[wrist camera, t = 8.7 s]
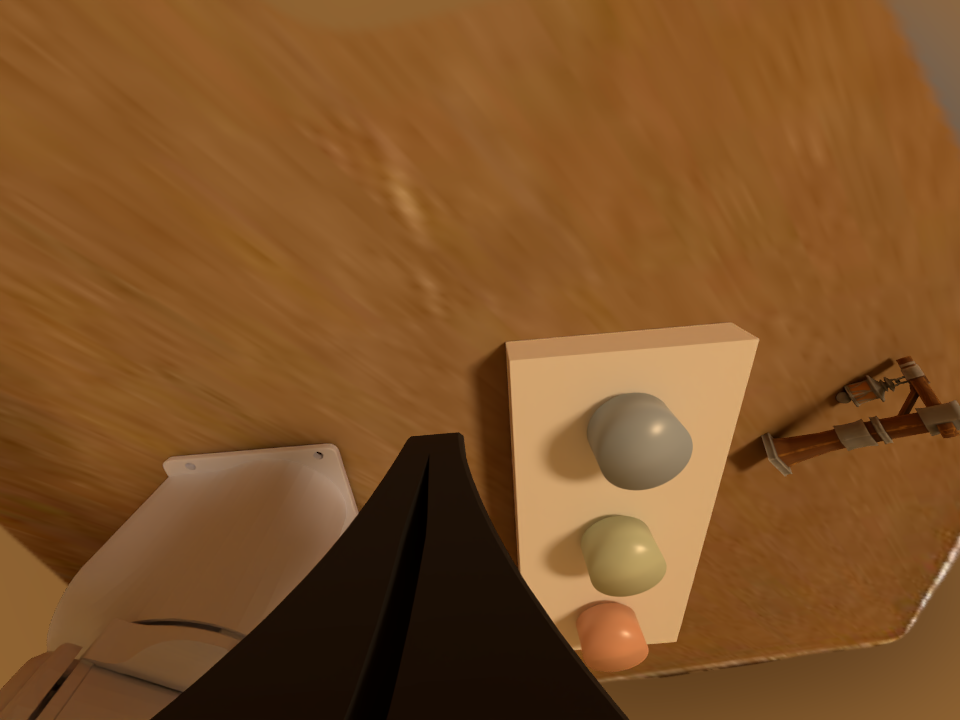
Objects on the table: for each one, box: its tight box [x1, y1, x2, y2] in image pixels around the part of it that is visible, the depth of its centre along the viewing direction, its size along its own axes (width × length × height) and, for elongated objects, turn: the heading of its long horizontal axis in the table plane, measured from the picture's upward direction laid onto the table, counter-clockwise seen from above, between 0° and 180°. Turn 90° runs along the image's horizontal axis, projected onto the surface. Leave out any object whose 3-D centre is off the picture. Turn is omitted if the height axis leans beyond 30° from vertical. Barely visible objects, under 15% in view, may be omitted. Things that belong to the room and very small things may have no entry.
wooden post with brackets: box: [762, 356, 960, 476], centre depth 20 cm, size 2×8×4 cm, turn 138°
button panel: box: [505, 322, 759, 650], centre depth 23 cm, size 11×24×2 cm, turn 5°
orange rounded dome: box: [576, 603, 649, 672], centre depth 25 cm, size 4×4×2 cm
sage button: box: [580, 516, 667, 597], centre depth 21 cm, size 4×4×2 cm
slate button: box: [587, 393, 693, 490], centre depth 17 cm, size 4×4×2 cm
